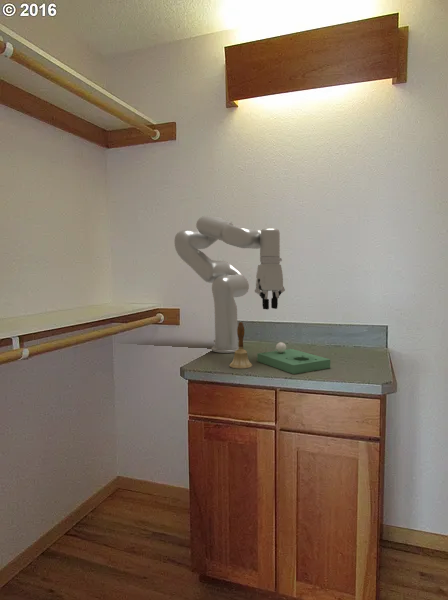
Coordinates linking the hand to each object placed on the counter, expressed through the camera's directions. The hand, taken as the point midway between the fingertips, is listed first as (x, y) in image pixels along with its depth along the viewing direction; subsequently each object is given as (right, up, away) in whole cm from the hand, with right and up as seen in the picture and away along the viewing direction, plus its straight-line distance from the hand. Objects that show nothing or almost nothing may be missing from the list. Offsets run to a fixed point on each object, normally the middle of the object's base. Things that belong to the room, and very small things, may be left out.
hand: (270, 308), depth 168 cm
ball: (+4, -15, -5) cm, 16 cm away
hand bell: (-12, -21, -12) cm, 27 cm away
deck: (+7, -20, -11) cm, 24 cm away
